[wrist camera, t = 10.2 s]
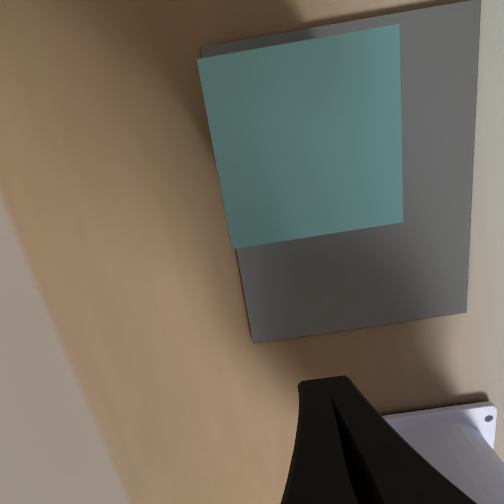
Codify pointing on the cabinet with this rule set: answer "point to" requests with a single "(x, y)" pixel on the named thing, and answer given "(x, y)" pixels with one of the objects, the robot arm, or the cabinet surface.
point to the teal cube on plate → (307, 135)
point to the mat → (414, 197)
